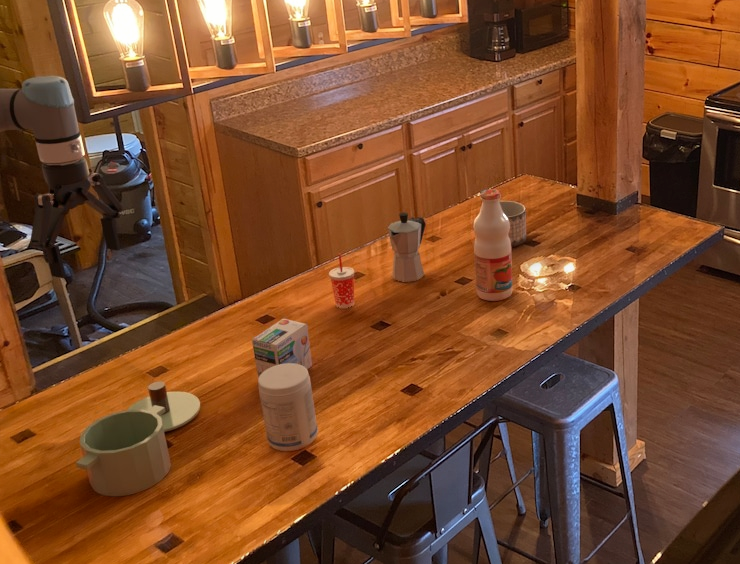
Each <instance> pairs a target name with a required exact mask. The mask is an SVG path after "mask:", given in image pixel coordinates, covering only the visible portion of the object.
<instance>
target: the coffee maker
mask: <svg viewBox="0 0 740 564" xmlns="http://www.w3.org/2000/svg"><path fill="white" fill-rule="evenodd" d="M398 216H399V220H398V221H394V222H391V223H390V224H389V225H388V227H387V232H388V237H389V240H390V246H391V249H392V251H394V253H393V263H392V274H393V276H392V278H393V277H394V278H393V281H394V280H399V281H404V282H408V283H410V282H409V281H415V282H417V281H416V280H418V279H420V278H421V277H423V276H424V277H425V273H424V272H425V271H424V267H423V264H422V260H421V259H422V258H421V256H420V253H419V252H420V251H419V248H420V246H421V244H422V241H423V237H424V233H425V229H426V225H427V224H426V221H425V219H424V217H421V216H418V217H416V218H415V217H413V216H411V217H409V213H408V212H400V213H399V214H398ZM408 219H409V220H408ZM424 277H423V278H424ZM421 279H422V278H421ZM421 279H420V280H421ZM399 281H398V282H399ZM418 281H419V280H418Z"/></svg>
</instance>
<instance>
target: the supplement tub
mask: <svg viewBox="0 0 740 564" xmlns="http://www.w3.org/2000/svg"><path fill="white" fill-rule="evenodd" d="M257 383H258V387H257V388H258V393H259V400H260V405H261V410H262V417H263V422H264V426H265V434H266V437H267V438H266V439H267V443H268V444H269V446H270V447H271V448H273V449H274V450H277V451H281V452H294V451H298V450H302V449H305V448H306V447H308V446H310V445H311V444H312V443H313V442H314V441H315V440H316V438H317V436H318V433H319V428H318V421H317V416H316V408H315V401H314V396H313V389H312V388H313V387H312V382H311V376H310V374H309V369H306V368H305V367H304V366H302V365H299V364H294V363H286V364H280V365H276V366H273V367H271V368H269V369H267V370H265V371H264V372H263V373H262V374H261V375H260V376H259V378H258V377H257Z"/></svg>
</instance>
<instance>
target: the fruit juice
mask: <svg viewBox="0 0 740 564" xmlns="http://www.w3.org/2000/svg"><path fill="white" fill-rule="evenodd" d="M501 195H502V194H501V191H500V190H499V189H494V188H489V189H483V190H481V192H480V200H481V206H480V210H479V213H478V214H477V215H476V217H475V218H474V221H473V231H474V234H475V239H474V242H473V256H474V257H473V258H474V272H475V273H474V276H475V277H474V278H475V291H476V295H477V297H478V298H479V299H481V300H484V301H488V302H498V301H504V300H507V299H508V298H509V297H511V296H512V294H513V291H514V289H513V287H514V286H513V285H514V283H513V258H512V247H511V241H510V238H509V236H508V234H509V230H510V222H509V219H508V217H507V216H506V215H505V214H504V212H503V211H502V208H501V205H500V202H499V201H500V200H501V197H502V196H501Z"/></svg>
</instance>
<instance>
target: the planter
mask: <svg viewBox="0 0 740 564" xmlns="http://www.w3.org/2000/svg"><path fill="white" fill-rule="evenodd" d="M499 202H500V205H501V208H502V211H503V212H504V214H505V215H506V216H507V217H508V219H509V222H510V230H509V234H508V236H509V238H510V241H511V248H513V247H518V246H520V245H522V244H524V243H525V242H526V240H527V212H526V211H527V209H526V208H527V207H526V206H525V205H524V204H523V203H520V202H517V201H514V200H499Z"/></svg>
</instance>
